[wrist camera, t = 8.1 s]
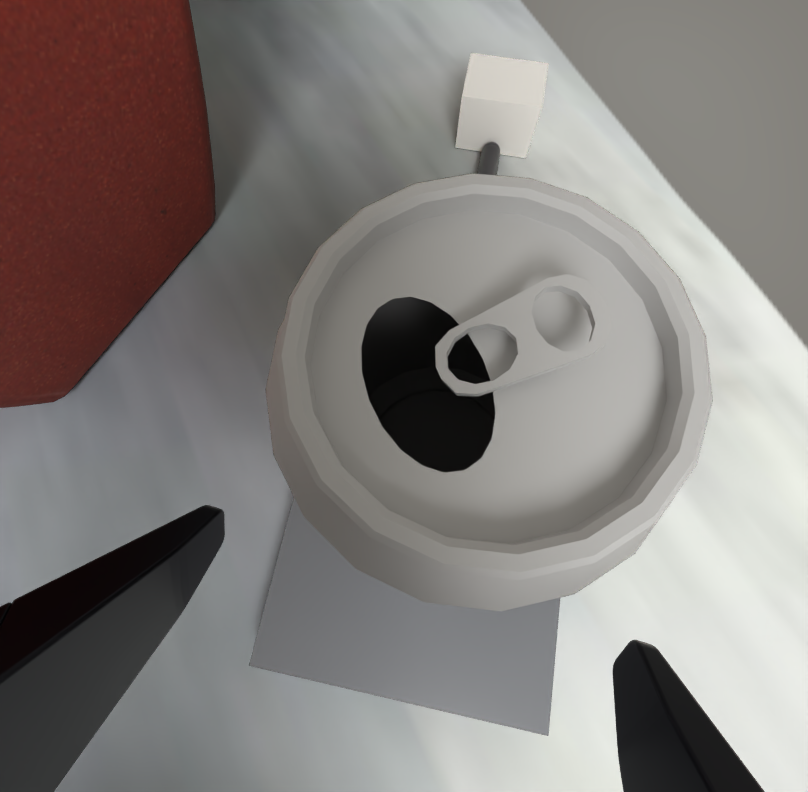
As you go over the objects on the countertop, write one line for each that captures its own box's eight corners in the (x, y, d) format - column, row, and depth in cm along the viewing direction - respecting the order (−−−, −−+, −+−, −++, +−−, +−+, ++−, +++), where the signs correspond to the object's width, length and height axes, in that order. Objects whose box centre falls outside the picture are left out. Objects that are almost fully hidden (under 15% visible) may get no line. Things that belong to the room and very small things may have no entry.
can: (323, 408, 18) (172, 211, 6) (483, 350, 19) (604, 78, 7) (383, 585, 16) (320, 759, 4) (559, 513, 17) (900, 500, 5)
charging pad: (538, 720, 16) (567, 764, 13) (259, 655, 17) (228, 684, 14) (592, 126, 24) (618, 72, 21) (404, 99, 25) (404, 43, 22)
